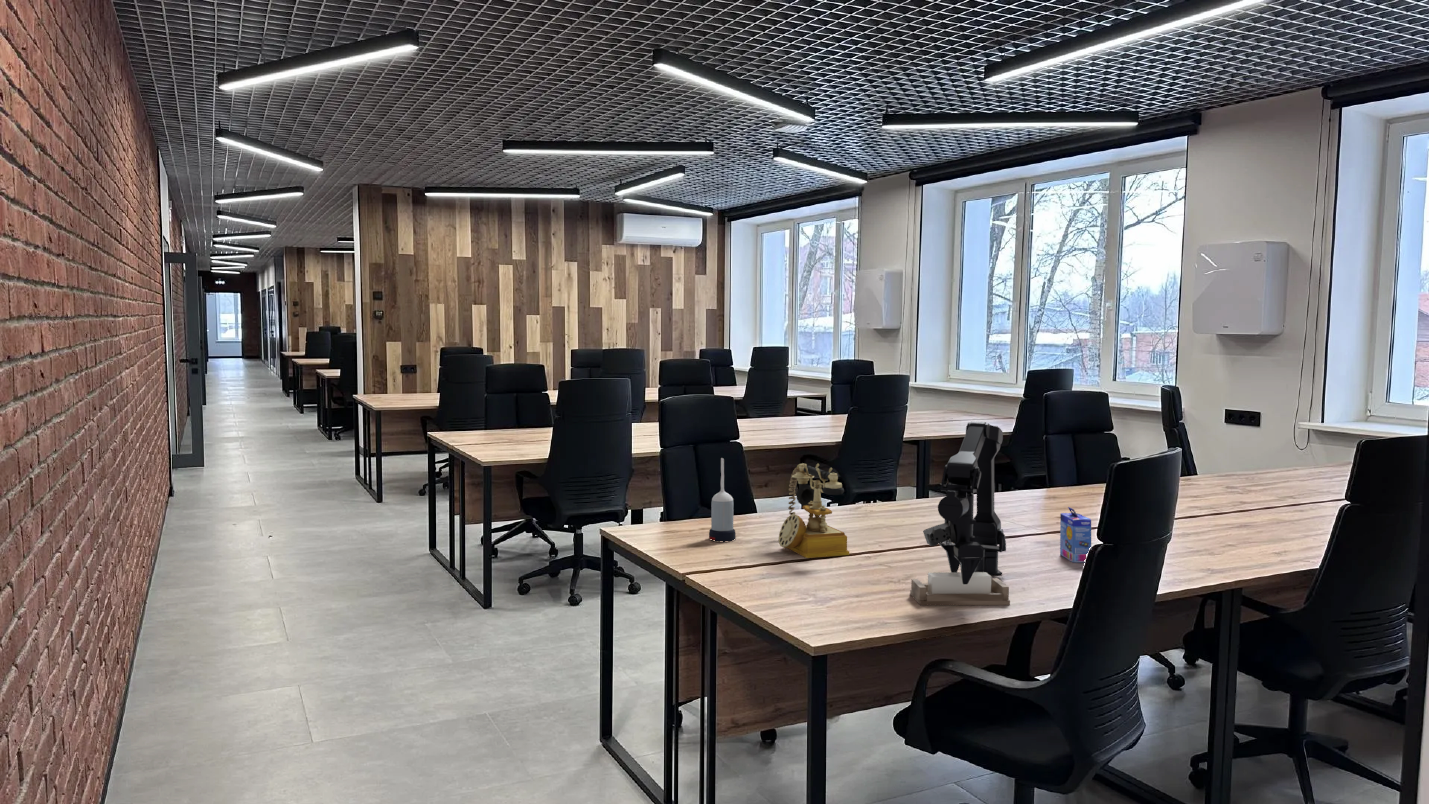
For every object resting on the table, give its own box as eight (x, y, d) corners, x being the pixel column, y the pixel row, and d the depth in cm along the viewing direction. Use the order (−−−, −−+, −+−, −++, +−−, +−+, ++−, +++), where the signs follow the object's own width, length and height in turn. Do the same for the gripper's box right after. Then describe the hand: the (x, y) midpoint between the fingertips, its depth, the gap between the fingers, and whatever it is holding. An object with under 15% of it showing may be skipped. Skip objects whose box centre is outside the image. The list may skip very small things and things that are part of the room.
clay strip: (927, 593, 232) (928, 572, 231) (985, 592, 232) (985, 572, 232) (932, 597, 228) (932, 576, 227) (990, 597, 228) (991, 576, 228)
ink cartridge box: (1058, 554, 277) (1059, 504, 276) (1077, 554, 278) (1078, 504, 277) (1072, 563, 268) (1073, 511, 267) (1091, 562, 268) (1093, 511, 267)
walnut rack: (910, 594, 234) (910, 577, 234) (995, 593, 235) (996, 577, 235) (920, 605, 224) (920, 588, 224) (1010, 604, 225) (1010, 588, 225)
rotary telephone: (753, 538, 299) (754, 457, 297) (806, 534, 304) (807, 455, 303) (800, 563, 265) (801, 473, 264) (858, 559, 271) (859, 470, 269)
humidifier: (706, 541, 294) (706, 459, 292) (712, 536, 302) (712, 456, 300) (732, 542, 292) (732, 460, 290) (738, 537, 300) (738, 457, 298)
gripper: (917, 507, 237) (915, 569, 238) (937, 521, 219) (936, 589, 220) (962, 507, 238) (960, 569, 239) (986, 521, 219) (984, 589, 220)
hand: (959, 579), depth 229 cm, fingers open, 9 cm apart
